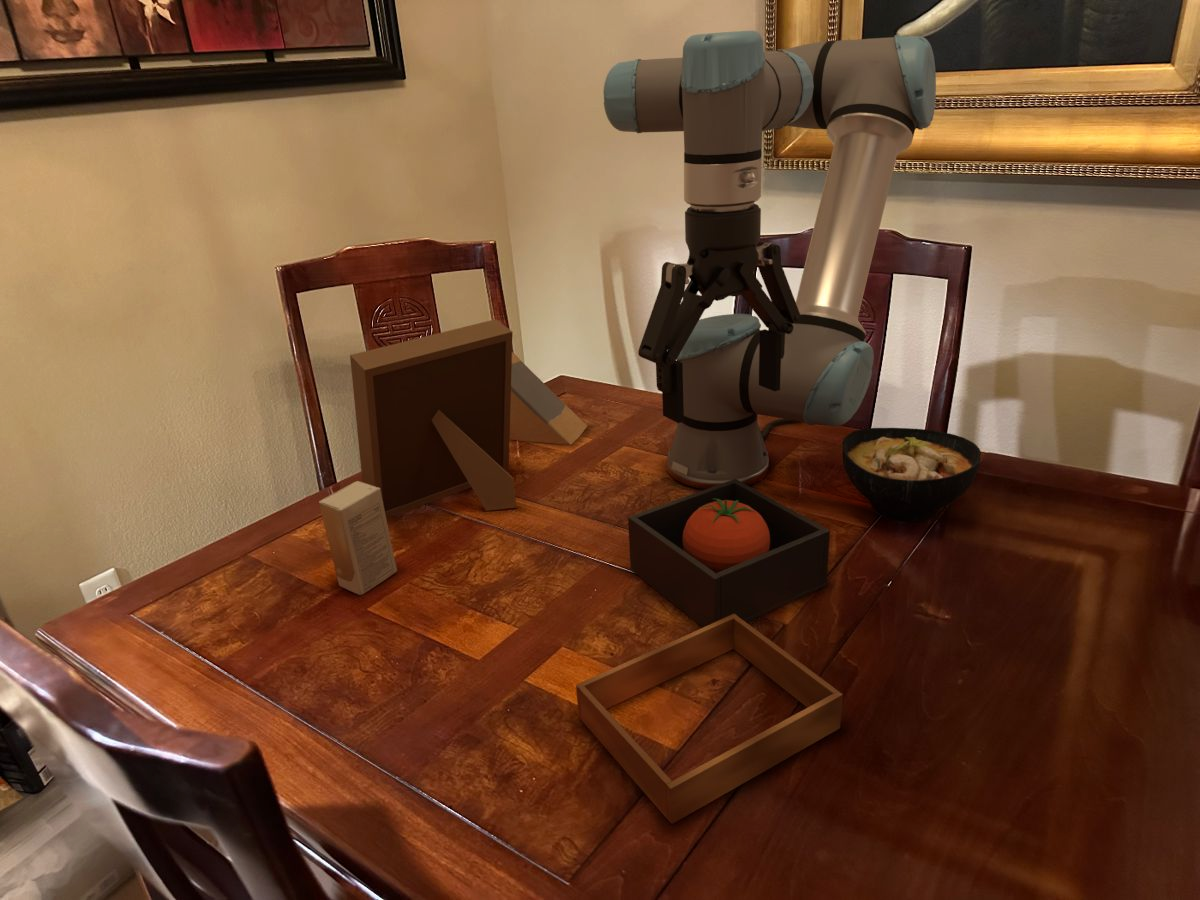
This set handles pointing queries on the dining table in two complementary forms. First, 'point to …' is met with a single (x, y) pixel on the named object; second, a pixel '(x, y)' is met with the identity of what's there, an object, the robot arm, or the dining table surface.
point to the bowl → (909, 470)
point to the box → (740, 760)
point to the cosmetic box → (358, 537)
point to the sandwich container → (539, 410)
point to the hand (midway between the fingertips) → (722, 402)
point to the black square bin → (740, 588)
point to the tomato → (725, 534)
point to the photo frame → (437, 417)
